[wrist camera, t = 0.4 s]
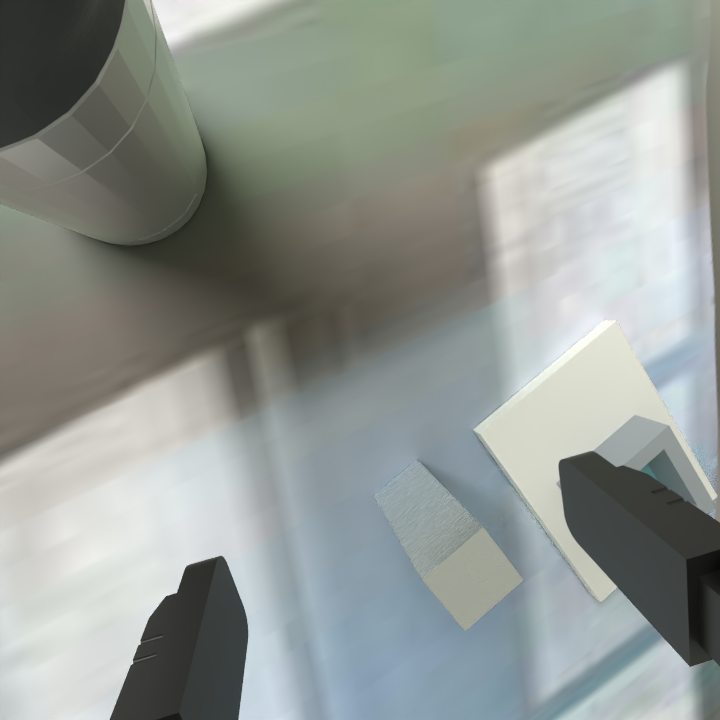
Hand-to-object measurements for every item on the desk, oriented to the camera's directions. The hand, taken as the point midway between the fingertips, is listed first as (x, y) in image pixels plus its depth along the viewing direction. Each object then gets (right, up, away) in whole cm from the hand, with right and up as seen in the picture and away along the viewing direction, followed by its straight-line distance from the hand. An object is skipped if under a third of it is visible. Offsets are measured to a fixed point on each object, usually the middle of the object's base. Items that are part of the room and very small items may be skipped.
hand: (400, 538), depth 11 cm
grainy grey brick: (+3, -6, +22) cm, 23 cm away
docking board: (+18, -4, +25) cm, 31 cm away
